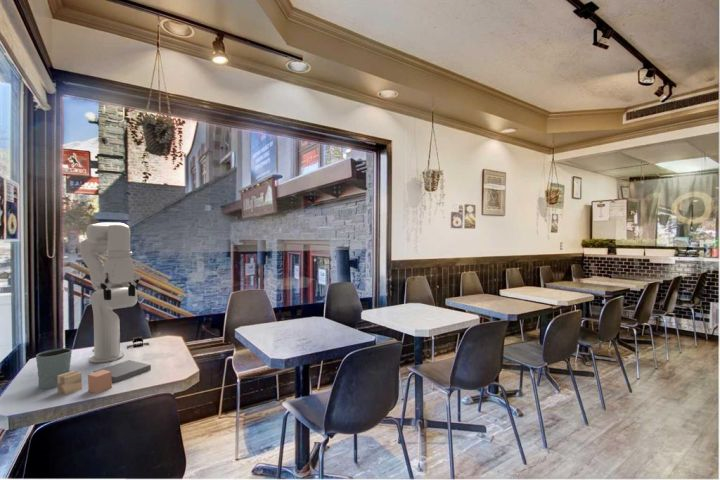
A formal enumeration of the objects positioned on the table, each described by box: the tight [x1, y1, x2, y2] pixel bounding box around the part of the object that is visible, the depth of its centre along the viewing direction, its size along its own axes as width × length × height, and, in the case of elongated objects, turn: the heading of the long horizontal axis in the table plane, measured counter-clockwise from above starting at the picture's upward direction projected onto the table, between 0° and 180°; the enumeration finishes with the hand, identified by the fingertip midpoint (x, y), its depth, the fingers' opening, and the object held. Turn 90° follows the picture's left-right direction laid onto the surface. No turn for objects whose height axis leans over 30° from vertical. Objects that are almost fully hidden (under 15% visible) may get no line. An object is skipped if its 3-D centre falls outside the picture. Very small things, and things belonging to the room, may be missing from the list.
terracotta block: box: [87, 369, 113, 394], centre depth 128 cm, size 5×5×6 cm
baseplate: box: [93, 359, 152, 383], centre depth 143 cm, size 14×14×2 cm
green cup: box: [35, 347, 73, 390], centre depth 133 cm, size 10×10×12 cm
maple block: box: [57, 370, 83, 395], centre depth 127 cm, size 5×5×6 cm
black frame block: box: [126, 336, 150, 350], centre depth 179 cm, size 12×7×5 cm, turn 125°
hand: (120, 297), depth 142 cm, fingers open, 9 cm apart
